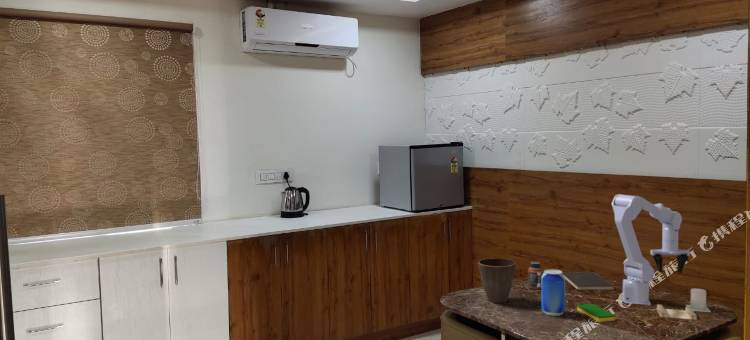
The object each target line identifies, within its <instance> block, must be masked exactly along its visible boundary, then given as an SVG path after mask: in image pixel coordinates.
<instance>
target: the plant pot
mask: <svg viewBox="0 0 750 340" xmlns="http://www.w3.org/2000/svg"><path fill="white" fill-rule="evenodd" d="M516 264H517V263H516V261H514V260H513V259H510V258H509V259H507V258H502V257H501V258H500V257H499V258H497V257H490V258H483V259H479V261H478V268H479V269H478V271H479V273H480V278H481V282H482V286H483V289H484V292H485V294H486V298H487V300H488V301H489V303H494V304H503V303H507V302H508V298H509V296H510V293H511V291H512V286H513V283H514V277H515V271H516Z"/></svg>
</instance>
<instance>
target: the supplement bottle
mask: <svg viewBox="0 0 750 340" xmlns="http://www.w3.org/2000/svg"><path fill="white" fill-rule="evenodd" d="M527 273H528V277H527V278H528V280H527V281H528V282H527V283H528V284H527V285H528V288H529V289H531V288H532V290H542V275H543V268H542V267H541V262H539V261H531V262H530V266H529V267H528V272H527Z"/></svg>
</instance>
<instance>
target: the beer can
mask: <svg viewBox="0 0 750 340" xmlns="http://www.w3.org/2000/svg"><path fill="white" fill-rule="evenodd" d="M562 272H563V271H562V270H559V269H552V268H551V269H545V270H544V271H543V272H542V288H541V311H542V312H543V314H544V313H545V315H546V314H547V316H550V315H551V316H550V317H561V316H562V315H564V313H565V311H566V279H565V277H564V276H563V274H562ZM560 315H561V316H560Z"/></svg>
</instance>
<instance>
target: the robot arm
mask: <svg viewBox="0 0 750 340" xmlns="http://www.w3.org/2000/svg"><path fill="white" fill-rule="evenodd" d="M611 206H612V207H611V208H612V210H613V214H614V223H615V226H616V227H617V232H618V234H619V238H620V241H621V244H622V246H623V250H624V253H625V255H626V258H625V260H624V261H623V262H622V263H623V267H624V268H623V272H624V275H625V276H626V279H624V278H623V279H622V296H621V298H622V299H623V302H624V303H625V304H635V305H647V306H649V305H652V303H651V301H650V300H649V297H650V296H649V294H650V292H649V291H650V290H649V289H650V286H649V285H650V282H651V281H652V280H653V278H654V275H655V270H654V268H653V267H652V265H651V263H650V262H649V260H647V259H646V258H645V257H644V256H643V255H642V251H641V248H640V245H639V241H638V240H637V239H638V238H637V236H636V233H635V232H636V231H635V230H634V226H633V223H632V221H634V220H636V218H637V217H638V215H639V214H640V212H641V211H642V210H643V211H645V212H649V215H650V216H651V218H654V219H655V220H657V221H659V223H660V224H662V230H661V231H662V237H661V238H662V243H661V245H662V246H661V248H660V249H650V255H651V256H652V258H653V260H654V262H655V265H656V268H657V272H658V273H659V274H662V273H663V263H664V261H663V260H664V257H662V256H676V259H677V273H679V274H682V272H683V269H684V267H685V264H686V263H687V261H688V260H689V256H690V255H691V251H690V250H688V249H679V230H680V228H681V224H682V221H683V217H682V215H681V213H679V211H673V210H672V209H671V208H670V207H666V206H664V204H663V203H655V204H654V203H652V202H650V201H649V200H646V199H645V198H644V197H642V196H639V195H629V194H628V195H627V194H621V193H619V194H618V193H617V194H615V195H614V197H613V199H612V201H611Z"/></svg>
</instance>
